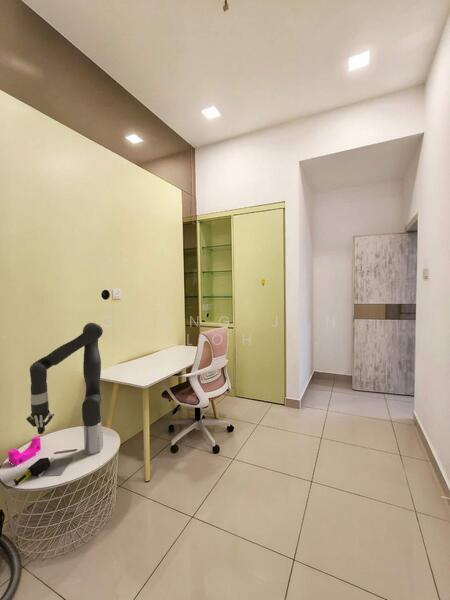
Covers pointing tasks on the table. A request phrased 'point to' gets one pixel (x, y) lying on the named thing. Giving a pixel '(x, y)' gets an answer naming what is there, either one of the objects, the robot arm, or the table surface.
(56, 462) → the mat
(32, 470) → the tape measure
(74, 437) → the table surface
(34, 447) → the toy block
